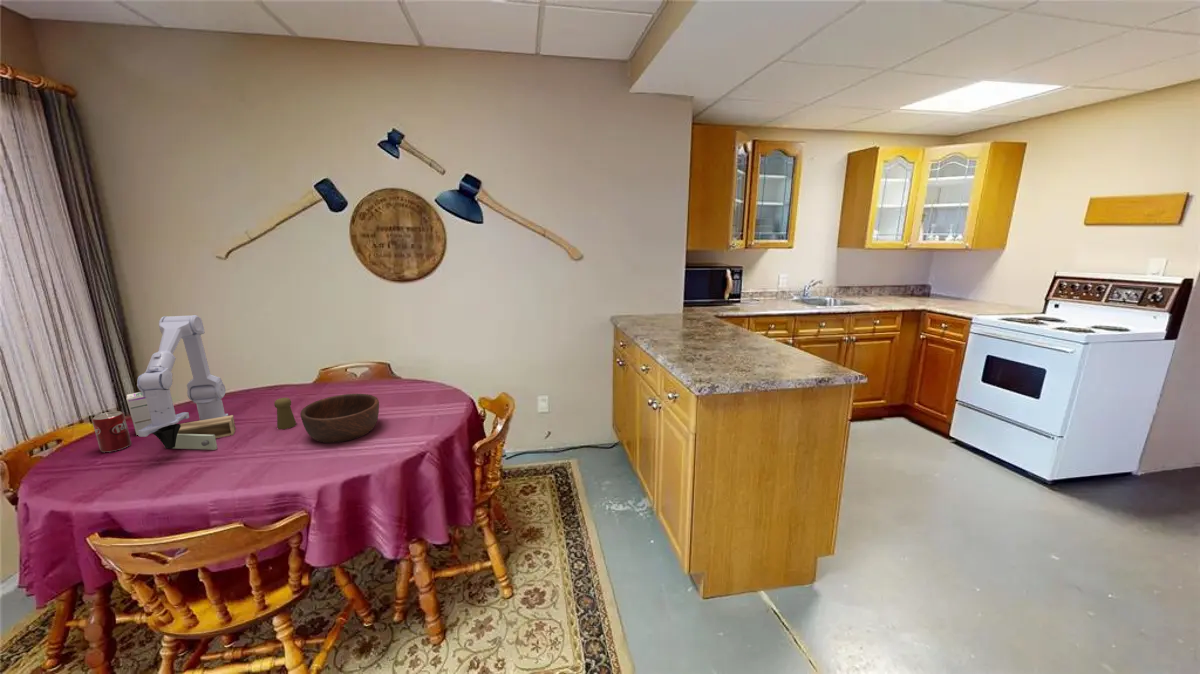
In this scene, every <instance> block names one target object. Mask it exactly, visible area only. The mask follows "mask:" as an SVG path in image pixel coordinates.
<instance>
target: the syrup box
mask: <svg viewBox="0 0 1200 674" xmlns="http://www.w3.org/2000/svg"><path fill="white" fill-rule="evenodd" d="M126 402H127V405H128V409H129V410H128V411H129V413H130V417H131V420H132V424H133V428H134V431H135V434H136V436H137V435H138V436H139V434H138V431H139V430H141V429H143V428H145V427H146V426H148V425H149V424H151V423H152V422H151V418H150V414H149V410H148V406H147V402H146V397H143V396H142V392H141V391H138V392H133V393H130V394H129V393H128V394H126Z"/></svg>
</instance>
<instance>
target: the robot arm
mask: <svg viewBox="0 0 1200 674" xmlns="http://www.w3.org/2000/svg"><path fill="white" fill-rule="evenodd" d="M158 327H159V330H160V333H161V339H160V342H159V347H158V351H157V352H156V351H155V352H154V353H153V354H151V357H150V360H149V361H148V363H147V367H146V370H145V371H144V372H143V373H141V374H140V375H139V376H138V377H137V381H136V383H137V384H136V386H137V389H138V390H139V392H142V396H143V397H146V402H147V406H148V410H149V414H150V418H151V422H152V423H151V424H149V425H148V426H146V427H145V428H143V429H141V430H139V431H138V434H139V435H138V436H139V437H140V438H141V437H143V438H145V437H148V436H149V435H150V434H152V435H154V436H155V437H156V438H157V439H158V440H159V441H160V442H161V443H162V445H163V447H164V448H165V449H174V448H173V447H175V444H176V437H177V434H178V431H179V429H180V427H181V425H180V424H181V423H180V422H181V421H183V420H186V419H189V418H190V415H189V412H186V411H184V412H183V411H182V412H180V413H176V411H175V407H174V402H173V397H172V394H171V389H170V388H171V387H172V385H173V372H172V370H173V368H174V364H175V361H176V359H177V357H176V356H175V355H174V353H175V351H176V349H177V346H178V345H179V343H180V341H181V340H183V345H184V349H185V352H186V357H187V360H188V363H189V367H190V370H191V374H192V378H191V379H190V380H189V381H188V382H187V384H186V387H187V392H186V393H187V395H186V396H187V397H188V398H187V399H188V400H190V401H191V402H193V404H196V409H197V412H198V418H199V421H200V420H206V419H212V418H218V417H224V416H229V413H226V412H225V409H224V404H223V400H222V399H223V398H224V397H225V394H226V386H225V384H224V382H223V380H222V378H221V377H220V376H217V375H214V374H211V370H210V366H209V363H208V359H207V355H206V352H205V348H204V343H203V339H202V335H204V334H205V329H204V328H205V327H204V323H203V320H202V317H200V316H199V315H196V314H193V315H191V314H190V315H176V316H175V315H172V316H169V315H168V316H167V315H164V316H162V317H160V319H159V321H158Z"/></svg>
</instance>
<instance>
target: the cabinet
mask: <svg viewBox="0 0 1200 674" xmlns="http://www.w3.org/2000/svg"><path fill="white" fill-rule="evenodd" d="M179 424H180V425H181V427H180V429H179V431H178V434H207V435H215V438H216V439H219V438H224V437H230V435H231V436H234V435H235V432H236V429H237V428H236V424H235V418H234V415H233V414H231V415H228V416H224V417H218V418H212V419H206V420H200V419H199V420H196V421H190V422H184V423H183V422H182V423H179Z"/></svg>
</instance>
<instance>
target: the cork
mask: <svg viewBox="0 0 1200 674" xmlns="http://www.w3.org/2000/svg"><path fill="white" fill-rule="evenodd" d="M291 405H292V400H291V399H290V398H289V397H281V398H278V399H275V400H274V408H275V409H276V424H277V425H276V426H277V427H276V428H278V429H277V430H281V429H283V430H288V429H287V428H289V429H291V427H292V428H294V427H295V425H297V422H296V419H295V416H294V413H293V410H292V407H291Z"/></svg>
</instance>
